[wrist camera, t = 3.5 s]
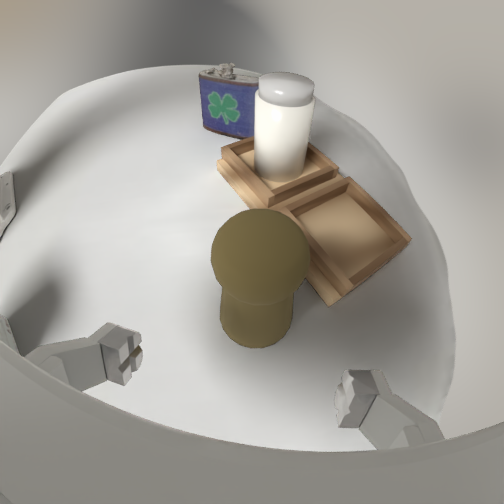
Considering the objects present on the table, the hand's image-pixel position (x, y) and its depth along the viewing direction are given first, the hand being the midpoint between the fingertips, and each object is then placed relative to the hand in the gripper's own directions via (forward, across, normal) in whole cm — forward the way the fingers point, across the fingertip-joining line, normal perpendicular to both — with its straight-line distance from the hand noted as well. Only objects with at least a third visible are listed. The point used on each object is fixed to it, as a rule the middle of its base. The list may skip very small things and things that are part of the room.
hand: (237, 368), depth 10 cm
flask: (+30, +8, -14) cm, 34 cm away
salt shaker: (+23, 0, -9) cm, 25 cm away
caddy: (+21, -3, -6) cm, 22 cm away
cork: (+12, 0, +4) cm, 13 cm away
